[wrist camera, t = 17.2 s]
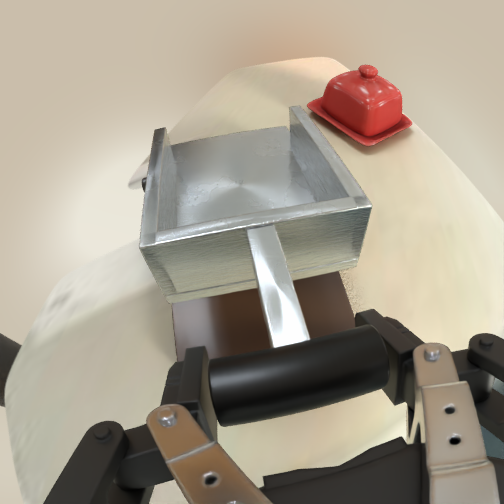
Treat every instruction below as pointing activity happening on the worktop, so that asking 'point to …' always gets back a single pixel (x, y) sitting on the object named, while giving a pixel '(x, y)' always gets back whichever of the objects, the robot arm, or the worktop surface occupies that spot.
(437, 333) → the worktop surface
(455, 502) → the robot arm
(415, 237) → the worktop surface
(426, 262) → the worktop surface
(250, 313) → the stand
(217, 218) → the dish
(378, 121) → the butter dish
